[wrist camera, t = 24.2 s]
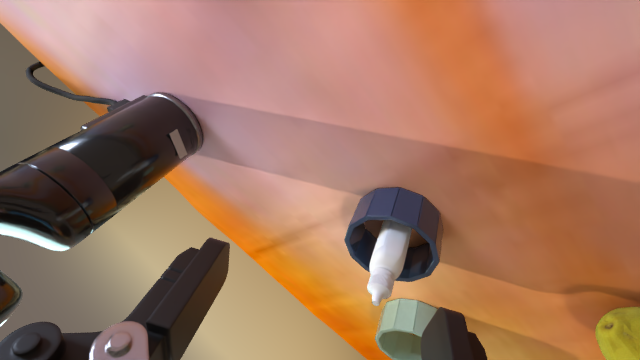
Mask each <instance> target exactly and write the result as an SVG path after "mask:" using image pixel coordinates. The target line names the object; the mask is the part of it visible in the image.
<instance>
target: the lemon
mask: <svg viewBox="0 0 640 360" xmlns="http://www.w3.org/2000/svg"><path fill="white" fill-rule="evenodd" d="M596 339H597V341H598V344H599V347H600V349H601V352H602V353H603V355H604V357H605V358H606V360H640V307H624V308H617V309H615V310H612V311H610V312H608V313H607V314H605V315H604V316H603V317H602V318H601V319H600V321H599V322H598V324H597V325H596Z"/></svg>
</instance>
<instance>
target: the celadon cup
mask: <svg viewBox="0 0 640 360" xmlns="http://www.w3.org/2000/svg"><path fill="white" fill-rule="evenodd" d="M437 310H438V309H436V308H435V307H432V306H430V305H428V304H425V303H423V302H421V301H418V300H410V299H401V298H400V299H396V300H392V301H389V302H387V303H386V304H385V306H384V308H383V309H382V312H381V316H380V320H379V324H378V328H377V332H376V336H375V340H376V342H377V345H378V347H379V348H380V350H381V351H383V352H384V353H385V354H386V355H387V356H389V357H390V358H392V359H393V360H422V359H421V337H422V334H423V331H424V329H425V328H426V326H427V325H428V323H429V322H430V320H431V319H432V317H433V316H434V314H435V313H436V311H437ZM409 333H413V334H415V335H417V336H414V335H411V334H409Z"/></svg>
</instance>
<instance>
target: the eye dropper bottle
mask: <svg viewBox="0 0 640 360" xmlns="http://www.w3.org/2000/svg"><path fill="white" fill-rule="evenodd" d="M411 232H412V228H410V227H408V226H405V225H402V224H400V223H397V222H395V221H392V220H384V221H383V224H382V227H381V230H380V233H379V236H378V239H377V242H376V245H375V248H374V251H373V254H372V257H371V260H370V265H369V269H370V274H371V276H370V279H369V283H368V286H367V289H368V291H369V293H370V294H371V295H372V304H373V305H375V306H378V305H379V304H380V302H381V300H382V299H387V298H389V297H390V296H391V293H392V289H393V285H394V281H395V280H396V279H397V278H398V277H399V275H400V274H401V272H402V270H403V266H404V263H405V258H406V254H407V249H408V245H409V241H410V236H411Z"/></svg>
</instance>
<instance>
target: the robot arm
mask: <svg viewBox="0 0 640 360" xmlns="http://www.w3.org/2000/svg"><path fill="white" fill-rule="evenodd" d="M44 66H45V65H44V64H43V63H41V62H37V63H35V64H33V65H31V66H30V67H28V68H27V70H26V76H27V78H28V79H29V80H30V81H31V82H32V83H34V84H35V85H37V86H38V87H40V88H42V89H45V90H47V91H50V92H52V93H55V94H58V95H61V96H64V97H66V98H69V99H72V100H77V101H85V102H91V103H99V104H108V105H111V106H109V107H107V109H108V112H109V113H106V114H104V115H102V116H100V117H99V118H96V119H95V120H92V121H90V122H88V123H86V124H84V125H83V126H82V127H81V131H80V132H78V133H76V134H74V135H72V136H70V137H68V138H66V139H64V140H62V141H60V142H58V143H56V144H54V145H52V146H50V147H48V148H46V149H45V150H43V151H40V152H38V153H36V154H34V155H32V156H30V157H28V158H27V159H24V160H23V161H20V162H18V163H17V164H15V165H12V166H11V167H8V168H7V169H5V170H3V171H1V172H0V235H1V236H7V237H12V238H16V239H20V240H23V241H26V242H29V243H31V244H34V245H37V246H40V247H43V248H46V249H49V250H54V251H64V250H68V249H70V248H72V247H74V246H75V245H77V244H78V243H79V242H81V241H82V240H83V239H85V238H86V237H87V236H88V235H90V234H91V233H92V232H94V231H95V230H96V229H98V228H99V227H100V226H101V225H103V224H104V223H105V222H106V221H108V220H109V219H110V218H112V217H113V216H114V215H115V214H117V213H118V212H119V211H120V210H122V209H123V208H124V207H126V206H127V205H128V204H129V203H131V202H132V201H133V200H134V199H136V198H137V197H138V196H139V195H141V194H142V193H143V192H145V191H146V190H147V189H149V188H150V187H151V186H152V185H154V184H155V183H156V182H158V181H159V180H160V179H161V178H163V177H164V176H165V175H167V174H168V173H169V172H170V171H172V170H173V169H174V168H175V167H177V166H178V165H179V164H181V163H182V162H183V161H184V160H186V159H187V158H188V157H189V156H192V155H193V154H195V153H196V152H197V151H198V150H199V149H200V148H201V146H202V142H203V136H202V131H201V128H200V125H199V123H198V121H197V119H196V118H195V116H194V115H193V113H192V112H191V111H190V110H189V108H188V107H187V106H186V105H185V104H184V103H182V102H181V101H180V100H178V99H177V98H175V97H174V96H172V95H169V94H166V93H161V92H157V93H154V94H151V95H149V96H145V95H143V96H141V97H139V98H137V99H135V100H133V101H128V100H126V99H124V100H122V101H119V102H116V101H114V100H111V99H103V98H94V97H89V96H79V95H74V94H71V93H68V92H65V91H62V90H60V89H57V88H54V87H52V86H49V85H47V84H44V83H42V82H40V81H39V80H37V79H36V78H35V77H34V76H33V72H34V71H35V70H36V69H38V68H41V67H44ZM229 249H230V244H229V243H227V242H224V241H220V240H217V239H213V238H209V239H207V240H206V242H205V243H204V244H203V246H202V247H201V248H200V250H199V249H195V248H192V247H191V248H189V249H188V250H186V251H184V252H183V253H181V254H179V255H178V256H177V257H176V259H175V260H174V261H173V262H172V263H171V265H170V266H169V268H168V269H167V270H166V271H165V272H164V273H163V274H162V276H161V278H160V279H158V281H157V282H156V283H155V284H154V285H153V287H152V288H151V289H150V290H149V292H148V293H147V294H146V295H145V297H144V298H143V299H142V300H141V301H140V303H139V304H138V305H137V306H136V308H135V309H134V310H133V311H132V313H131V314H130V315H129V316H128V317H127V318H126V319H125V320H124V321H122V322H120V323H117V324H114V325H112V326H110V327H108V328H107V329H105V330H104V331H100V332H93V333H61V331H60V328H59V327H58V326H57V325H55V324H53V323H50V322H37V323H32V324H29V325H26V326H23V327H21V328H19V329H17V330H15V331H14V332H12V333H11V334H9V335H8V336H7V337H6V338H4V339H3V340H2V341H1V342H0V360H180V359H181V357H182V356H183V354H184V352H185V350H186V349H187V347H188V345H189V343H190V342H191V340H192V338H193V337H194V335H195V333H196V331H197V330H198V328H199V326H200V324H201V323H202V321H203V319H204V317H205V316H206V314H207V312H208V310H209V309H210V307H211V305H212V304H213V302H214V300H215V298H216V296H217V295H218V293H219V291H220V290H221V287H222V286H223V284H224V282H225V279H226V277H227V273H228V264H229ZM22 296H23V293H22V290H21V288H20V287H19V286H18V285H17V284H16V283H15V282H14V281H13V280H12V279H11V278H9V277H8V276H7V275H6V274H4V273H3V272H2V271H1V270H0V326H1V325H2V324H4V322H6V321H7V319H8V318H9V317H10V316H11V315H12V314H13V313H14V311H15V310H16V309H17V307H18V306H19V304H20V302H21V300H22ZM421 359H422V360H487V357H486V353H485V349H484V348H483V346H482V344H481V343H480V341H479V339H478V338H477V336H476V334H475V333H471V332H468V330H467V326H466V321H465V318H464V316H463V314H462V313H459V312H455V311H452V310H449V309H445V308H442V307H440V308H438V310H437V311H436V313H435V314H434V316H433V317H432V319H431V320H430V322H429V323H428V325H427V326H426V328H425V329H424V331H423V334H422V337H421Z"/></svg>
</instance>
